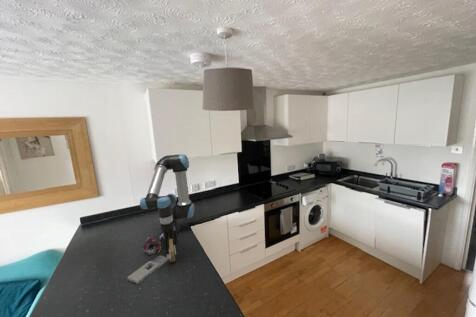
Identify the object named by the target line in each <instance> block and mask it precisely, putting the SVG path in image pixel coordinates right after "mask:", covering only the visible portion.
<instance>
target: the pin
mask: <svg viewBox="0 0 476 317" xmlns="http://www.w3.org/2000/svg"><path fill="white" fill-rule="evenodd" d="M169 249H170V252H171V259H169V260H168V261H169V263H173V262H176V255H175V253H174V247H173V240H172V238H171V237H170V236H169Z"/></svg>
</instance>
